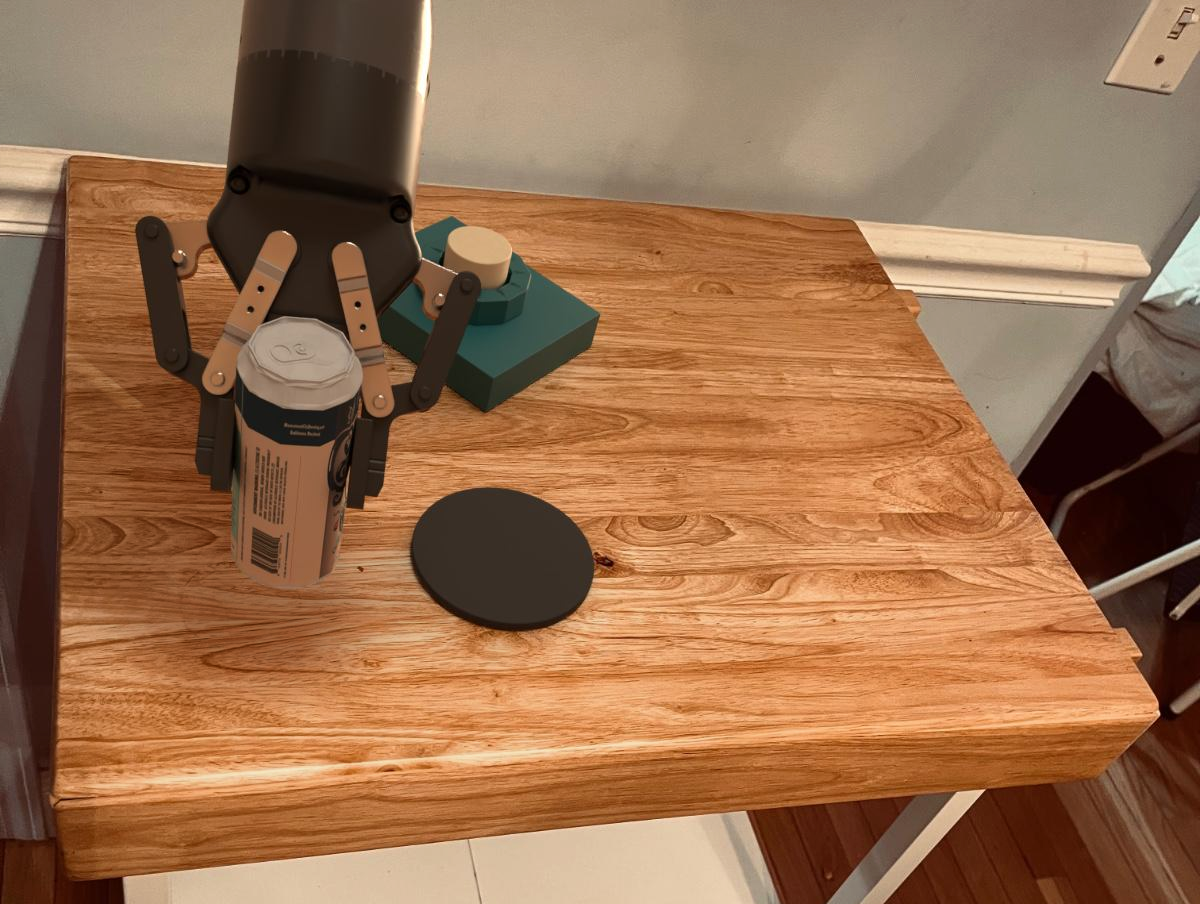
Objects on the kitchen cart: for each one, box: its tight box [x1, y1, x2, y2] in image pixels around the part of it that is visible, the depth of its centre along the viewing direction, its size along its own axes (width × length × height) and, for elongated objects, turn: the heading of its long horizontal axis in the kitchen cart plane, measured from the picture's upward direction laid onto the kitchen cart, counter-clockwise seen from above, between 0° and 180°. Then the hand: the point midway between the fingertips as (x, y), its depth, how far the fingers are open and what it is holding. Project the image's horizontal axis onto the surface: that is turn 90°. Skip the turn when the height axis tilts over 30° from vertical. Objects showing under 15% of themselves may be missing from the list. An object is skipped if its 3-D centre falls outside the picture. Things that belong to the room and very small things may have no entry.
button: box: [443, 225, 513, 290], centre depth 74 cm, size 4×4×2 cm
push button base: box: [377, 215, 601, 413], centre depth 76 cm, size 13×11×4 cm
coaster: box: [410, 486, 596, 631], centre depth 64 cm, size 10×10×1 cm
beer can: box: [230, 316, 363, 591], centre depth 50 cm, size 5×5×12 cm
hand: (289, 498), depth 49 cm, fingers closed on beer can, 4 cm apart
